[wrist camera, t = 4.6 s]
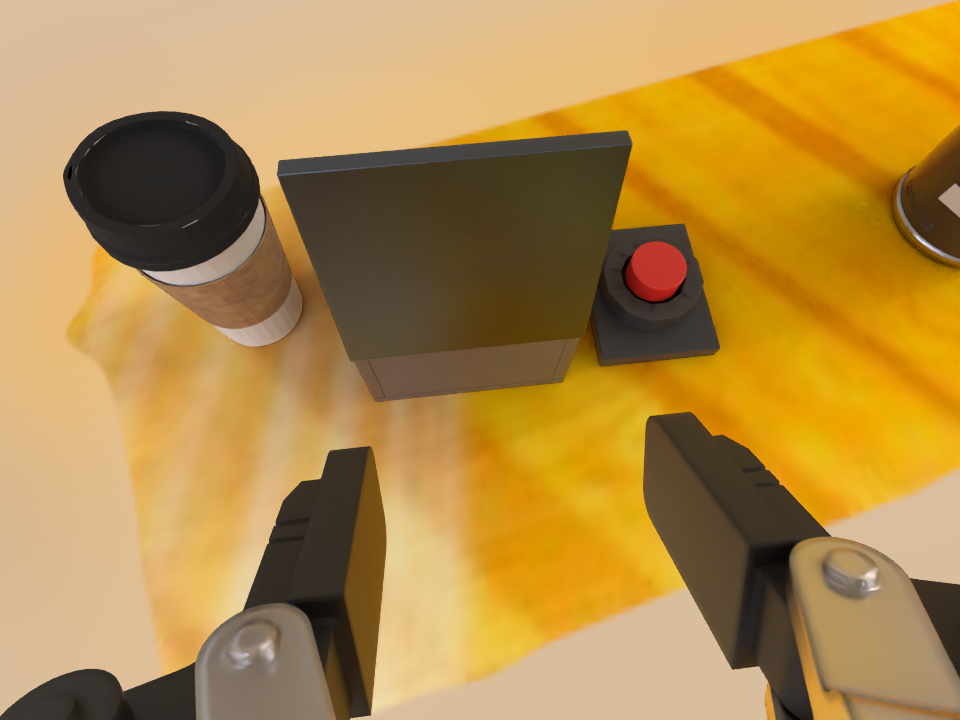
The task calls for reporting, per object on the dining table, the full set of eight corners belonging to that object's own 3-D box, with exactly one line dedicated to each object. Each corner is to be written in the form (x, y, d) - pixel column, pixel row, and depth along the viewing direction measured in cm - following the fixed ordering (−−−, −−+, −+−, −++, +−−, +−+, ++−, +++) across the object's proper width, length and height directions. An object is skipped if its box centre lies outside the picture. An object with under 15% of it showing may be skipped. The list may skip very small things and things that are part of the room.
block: (679, 232, 44) (693, 207, 41) (714, 355, 40) (731, 337, 37) (574, 242, 43) (581, 218, 41) (599, 367, 40) (608, 350, 37)
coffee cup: (203, 264, 42) (68, 104, 29) (319, 251, 43) (243, 88, 29) (197, 371, 39) (43, 251, 25) (322, 356, 40) (239, 230, 26)
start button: (671, 252, 40) (680, 238, 38) (684, 299, 39) (693, 286, 37) (620, 257, 40) (626, 243, 38) (631, 304, 39) (637, 291, 37)
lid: (277, 159, 21) (276, 175, 20) (628, 128, 21) (633, 143, 21) (350, 349, 31) (350, 362, 31) (581, 325, 32) (584, 338, 31)
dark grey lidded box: (367, 252, 43) (345, 183, 36) (536, 236, 44) (549, 165, 36) (375, 402, 39) (352, 358, 31) (562, 382, 39) (581, 335, 32)
